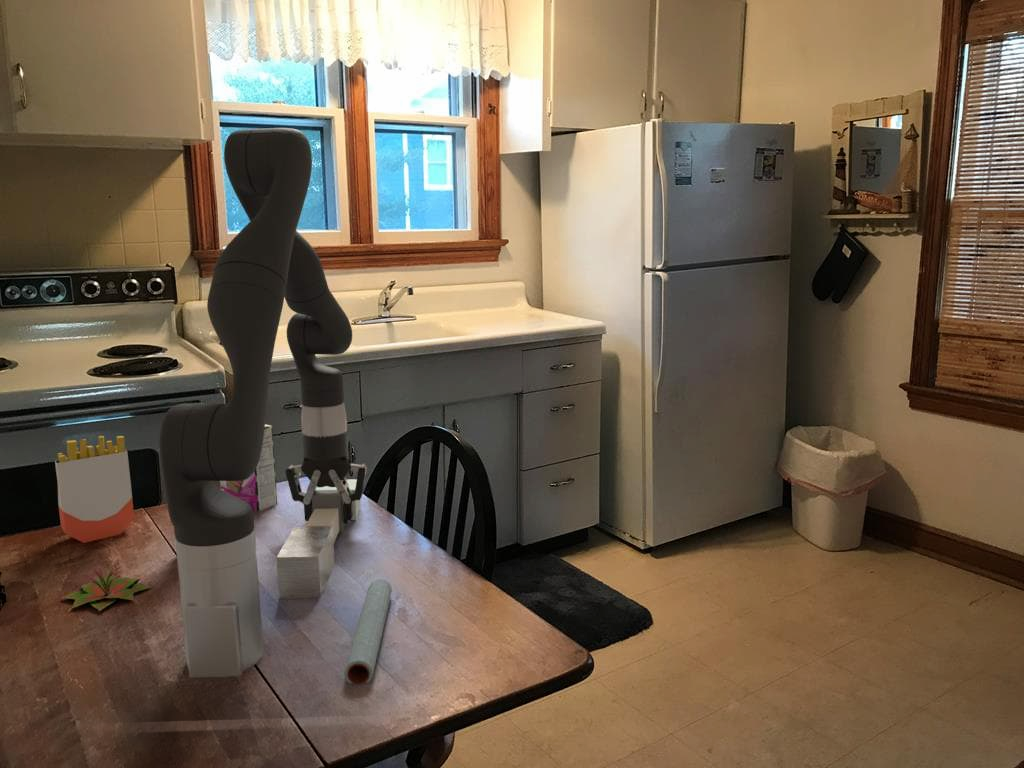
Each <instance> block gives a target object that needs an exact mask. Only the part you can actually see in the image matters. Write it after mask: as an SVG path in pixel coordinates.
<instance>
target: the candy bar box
mask: <svg viewBox="0 0 1024 768" xmlns="http://www.w3.org/2000/svg"><path fill="white" fill-rule="evenodd" d="M274 448H275V447H274V435H273V425H270V424H266V423H265V428H264V437H263V445H262V451H261V455H260V459H259V462H258V465H257V468H256V469H255V471H254V473H253V474H252V476H250V477H249V478H248V479H246V480H242V481H218V484H219V485H218V486H219V487H218V488H220V489H221V490H222V491H224V492H226V493H227V494H230V495H232V496H234V497H236V498H239V499H241V500H243V501H245V502H247V503H248V504H249V505H250V506H251V507H252V509H253V512H254V511H255V512H262V511H264V510H267V509H269V508H271V506H272V507H274V506H276V504H277V505H278V493H277V490H278V489H277V480H276V478H277V477H276V465H275V464H276V463H275V461H276V460H275V449H274Z"/></svg>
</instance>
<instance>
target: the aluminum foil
mask: <svg viewBox="0 0 1024 768" xmlns="http://www.w3.org/2000/svg"><path fill="white" fill-rule="evenodd" d="M392 591H393V589H392V586H391V584H390V582H388V581H387V580H386V579H382V578H381V579H375V580H373V581H371V583H370V584H369V586H368V588H367V592H366V595H365V599H364V602H363V606H362V609H361V613H360V617H359V619H358V622H357V627H356V630H355V634H354V638H353V641H352V643H351V647H350V650H349V654H348V657H347V661H346V665H345V668H344V674H343V675H344V678H345V680H346V681H347V683H348V684H355V685H363V684H369V683H370V682H371V681H372V679H373V675H374V671H375V667H376V662H377V657H378V653H379V649H380V644H381V641H382V635H383V630H384V627H385V623H386V618H387V613H388V610H389V606H390V601H391V598H392V597H391V596H392Z"/></svg>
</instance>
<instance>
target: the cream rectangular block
mask: <svg viewBox="0 0 1024 768" xmlns="http://www.w3.org/2000/svg"><path fill="white" fill-rule="evenodd" d="M334 544H335V542H334V543H333V526H306V525H304V526H294V527H293V528H292V530H291V531H290V534H289V535H288V537H287V538H286V540H285V542H284V543H283V545H282V547H281V549H280V551H279V552H278V554H277V556H276V569H277V571H276V572H277V584H278V585H277V586H278V598H279V600H280V599H283V600H284V599H317V598H319V599H321V598H322V596H323V594H324V590H325V588H326V587H327V586H326V585H327V583H328V580H329V578H330V576H331V573H332V572H333V571H332V570H333V568H334V565H335V547H334Z"/></svg>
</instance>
